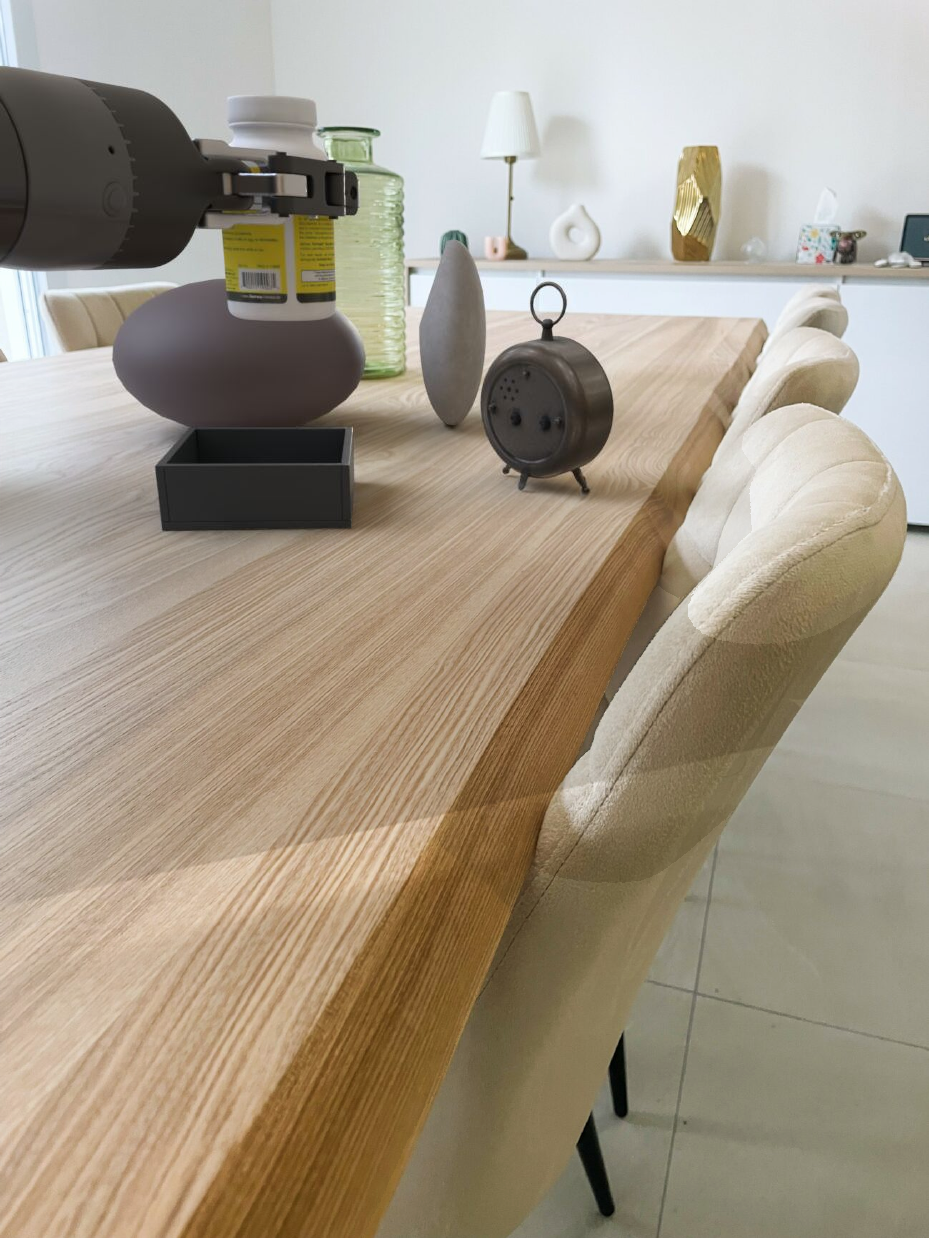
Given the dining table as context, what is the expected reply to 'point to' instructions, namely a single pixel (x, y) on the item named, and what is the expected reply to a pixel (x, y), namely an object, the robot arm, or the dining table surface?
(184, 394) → the smooth stone
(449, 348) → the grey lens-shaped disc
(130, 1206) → the dining table surface
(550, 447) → the alarm clock
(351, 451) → the bin
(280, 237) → the pill bottle
